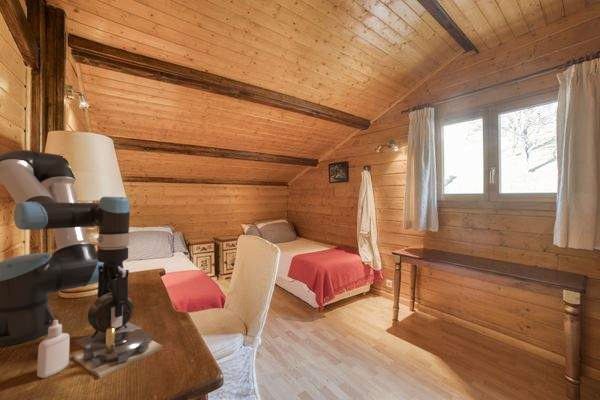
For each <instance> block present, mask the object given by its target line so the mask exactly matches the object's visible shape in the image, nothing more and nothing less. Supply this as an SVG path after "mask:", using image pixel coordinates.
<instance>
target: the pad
mask: <svg viewBox="0 0 600 400" xmlns="http://www.w3.org/2000/svg"><path fill="white" fill-rule="evenodd" d="M125 325H126V326H127V328H125V327H124V326H123V327H122V328H120V329H118V330H116V331H115V332H117V331H121V332H128V331H134V330H135V329H142V327H140V326H138V325H135V324H133V323H131V322H130V321H128V322H127V323H126V324H125ZM142 330H143V329H142ZM93 335H94V333H93V334H90V335H87V336H84V337H81V338H78V339H76V340H75V343H76V344H78V345H79V346H80V347H82V348H83V349H84V350H86V349H89V348H90V344H91V342H92V341H94V340H96V339H103V338H105V337H106V333H102V332H98V333H97V334H96V335H95V336H94V338H92V336H93Z"/></svg>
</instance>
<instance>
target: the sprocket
mask: <svg viewBox="0 0 600 400" xmlns="http://www.w3.org/2000/svg"><path fill="white" fill-rule="evenodd" d="M152 340H153V335H152V333H151V332H148V333H144V332H143V329H135V330H134V331H128V332H121V331H117V332H115V327H109V328H107V329H106V337H105V338H103V339H96V340H94V341H92V342H91V344H90V349H87V350H86V349H84V352H83V360H87V359H90V358H92V365H97V366H100V365H101V364H103V363H104V362H112V361H117V360H118V363H120V362H123V361H127V360H128V357H130V356H132V355H134V354H136V353H138V352H145V351H146V350H147V349H148V347H149V342H150V341H152Z"/></svg>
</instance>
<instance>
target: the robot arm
mask: <svg viewBox="0 0 600 400" xmlns="http://www.w3.org/2000/svg"><path fill="white" fill-rule="evenodd" d="M60 155H61V154H55V153H48V152H42V151H35V150H28V149H16V150H14V149H13V150H10V151H5V152H3V153H1V154H0V184H1V185H4V186H3V187H4V188H5V189H6V190H7V192H8V193H9V194H10V196H11V198H12V200H13V201H14V202H15V203H16V206H15V208H14V209H13V210H14V211H13V220H14V224H15V227H16V228H17V229H19V230H22V231H23V230H24V231H25V230H26V231H27V230H30V231H31V230H34V231H41V230H51V229H52V231H53V235H54V240H55V246H56V249H55V250H54V251H53V252H52V254H50V253H49V252H37V253H28V254H22V255H18V256H14V257H13V256H12V257H10V258H6V259H3V260H1V261H0V347H7V346H13V345H18V344H21V343H25V342H28V341H32V340H35V339H37V338H40V337H43V336H45V335H48V328H49V327H50V326H51V325H52V324H53V321H54V320H56V318H55V316H54V314H53V312H52V309H51V307H50V305H49V295H50V294H53V293H58V292H63V291H68V290H73V289H76V288H77V289H78V288H81V287H83V288H85V287H87V286H89V285H93V284H97V299H98V298H100V297H101V296H103V295H105V294H107V293H111V292H112V297H113V305H111V327H115V328H117V327H120V326H122V315H123V304H126V303H127V302H128V297H129V295H128V294H129V290H128V287H129V285H128V284H129V281H128V280H129V279H128V278H129V273H130V271H129V269H124V263H123V262H124V261H126V260H128V259H129V248H128V246H129V243H130V242H129V241H130V218H131V217H130V216H131V215H130V214H131V208H130V199H129V198H128V197H125V196H101V198H100V199H99V202H79V199H78V200H77V197H78V195H77V196H76V193H77V191H76V192H75V189H74V187H73V184H74V182H75V180H76V179H75V177H74V175H73V173H72V171H71V167H70V165H69V163H68V161H67V160H66V159H65V158H63V156H60ZM92 227H98V237H97V238H96V241H97V242H98V244H97V245H98V247H99V249H98V250H97V249H96V246H95V244H94V243H93V242H90V241H89V239H88V235H87V231H86V228H92ZM108 283H110V284H109V286H108V288H109V289H110V290H112V291H109V290H108V288H107V285H108Z"/></svg>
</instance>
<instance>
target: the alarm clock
mask: <svg viewBox="0 0 600 400" xmlns="http://www.w3.org/2000/svg"><path fill="white" fill-rule="evenodd" d="M109 284H110V283H108V285H107V288H108V286H109ZM108 290H109V291H112V290H110V289H109V288H108ZM111 305H113V297H112V292H111V293H107V294H105V295H103V296H101V297H100V298H98V297H97V299H96V300H95V301H94V302H93V303H92V304H91V305H90V306H89V307H90V308H89V309H88V312H87V321H88V323H89V325H91V327H92V328H93V329H94V330H95V331H94V333H93V334H94V335H93V336H92V338H94V336H95V335H96V334H97V333H98V332H102V333H106V329H107V328H109V327H111ZM134 312H135V304H134V302H133V300H132V298H130V297H129V296H128V302H127V303H126V304H123V315H122V326H120V327H117V328H115V331H116V330H118V329H120V328H122V327H123V326H124V327H125V328H127V326H126V325H125V324H126V323H127V322H130V320H131V318H132V317H133V315H134Z"/></svg>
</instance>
